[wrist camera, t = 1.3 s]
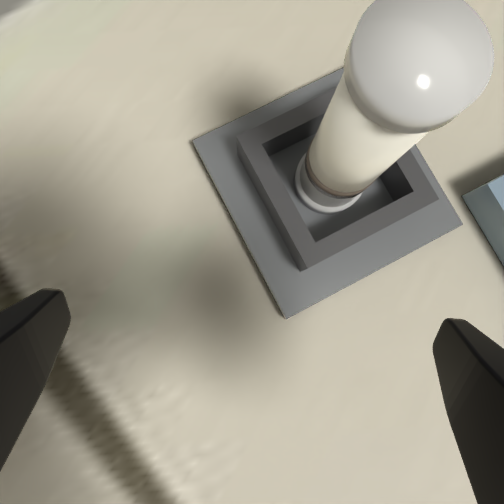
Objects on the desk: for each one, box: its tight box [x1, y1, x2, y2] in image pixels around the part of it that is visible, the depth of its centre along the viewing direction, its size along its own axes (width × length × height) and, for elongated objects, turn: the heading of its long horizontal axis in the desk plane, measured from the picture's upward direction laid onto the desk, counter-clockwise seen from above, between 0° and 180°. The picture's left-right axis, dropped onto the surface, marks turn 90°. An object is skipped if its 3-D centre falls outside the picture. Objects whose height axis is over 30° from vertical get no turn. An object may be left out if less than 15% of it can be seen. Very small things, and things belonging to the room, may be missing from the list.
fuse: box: [294, 0, 494, 215], centre depth 16 cm, size 4×4×12 cm
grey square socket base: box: [192, 68, 463, 319], centre depth 22 cm, size 12×12×4 cm
